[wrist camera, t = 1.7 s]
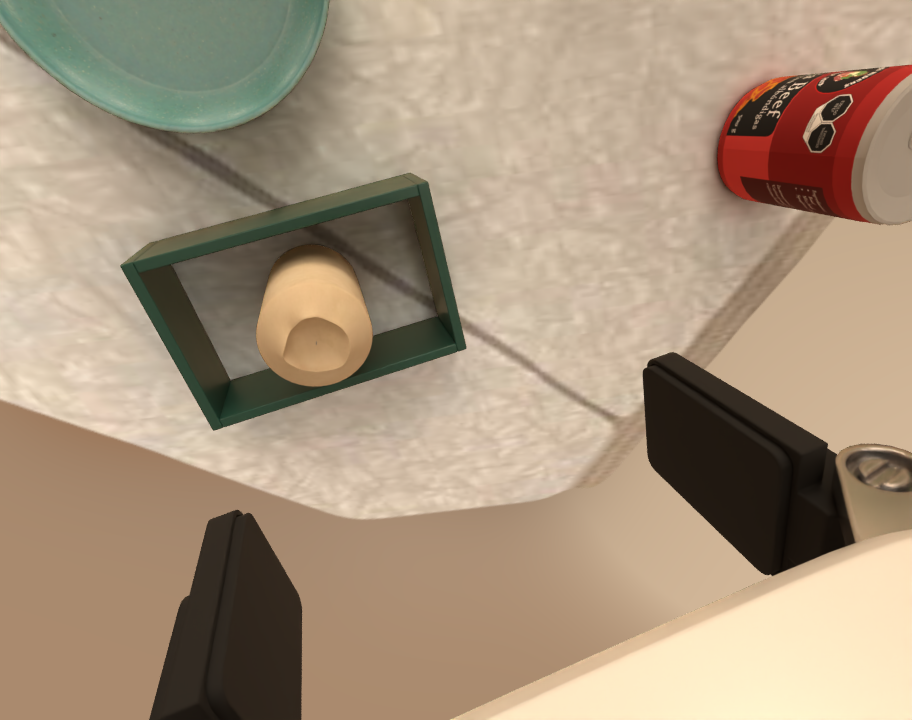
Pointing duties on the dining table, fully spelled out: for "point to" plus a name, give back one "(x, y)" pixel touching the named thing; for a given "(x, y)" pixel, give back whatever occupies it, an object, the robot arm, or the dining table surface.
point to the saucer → (172, 55)
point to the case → (165, 291)
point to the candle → (313, 318)
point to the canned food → (825, 144)
